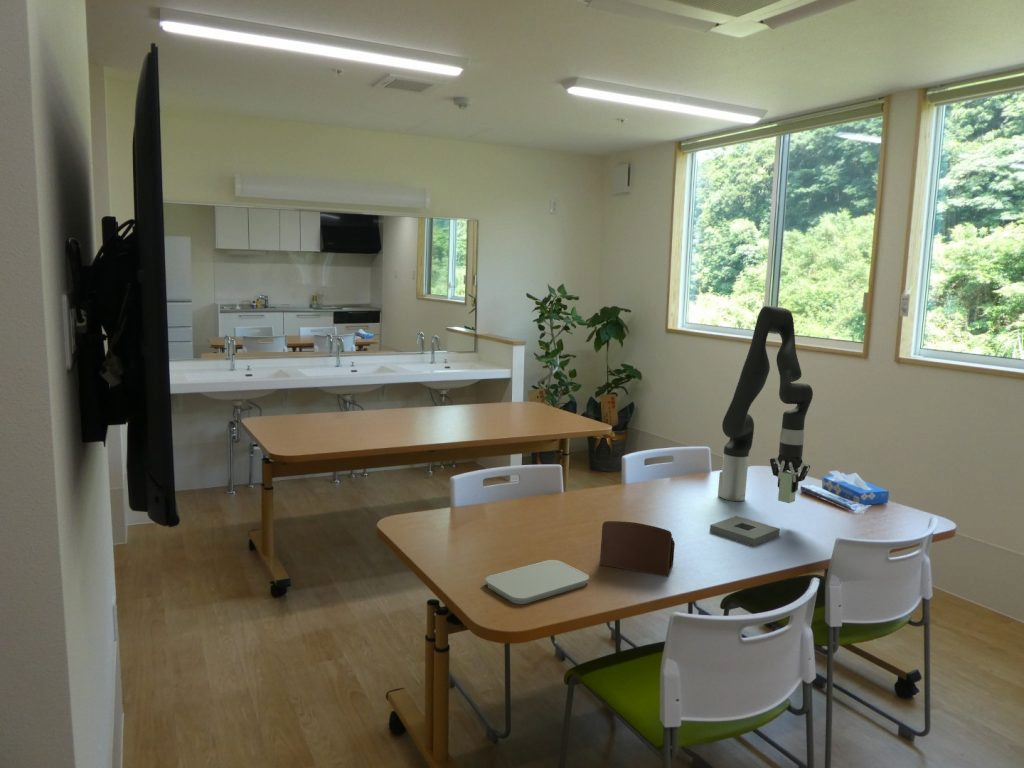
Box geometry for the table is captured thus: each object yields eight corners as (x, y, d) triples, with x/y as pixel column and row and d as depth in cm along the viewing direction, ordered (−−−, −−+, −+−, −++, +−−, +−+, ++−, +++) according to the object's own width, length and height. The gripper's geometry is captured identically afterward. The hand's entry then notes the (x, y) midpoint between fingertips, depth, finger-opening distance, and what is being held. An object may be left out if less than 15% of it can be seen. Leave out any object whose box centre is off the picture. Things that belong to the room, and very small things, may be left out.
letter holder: (668, 577, 208) (672, 529, 206) (599, 565, 215) (601, 518, 212) (673, 565, 217) (676, 518, 215) (606, 554, 224) (609, 508, 222)
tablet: (480, 586, 198) (480, 577, 198) (554, 565, 214) (554, 558, 214) (517, 609, 186) (518, 600, 185) (593, 585, 201) (594, 577, 201)
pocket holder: (709, 532, 246) (710, 524, 246) (736, 522, 257) (736, 515, 257) (753, 546, 235) (754, 538, 234) (779, 535, 245) (779, 528, 245)
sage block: (778, 500, 256) (780, 472, 254) (783, 498, 258) (786, 470, 257) (789, 503, 253) (791, 474, 251) (794, 501, 256) (797, 472, 254)
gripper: (817, 444, 250) (812, 493, 252) (777, 436, 260) (773, 484, 263) (806, 446, 245) (801, 497, 247) (766, 439, 255) (762, 487, 258)
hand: (787, 490), depth 255 cm, fingers closed on sage block, 4 cm apart
